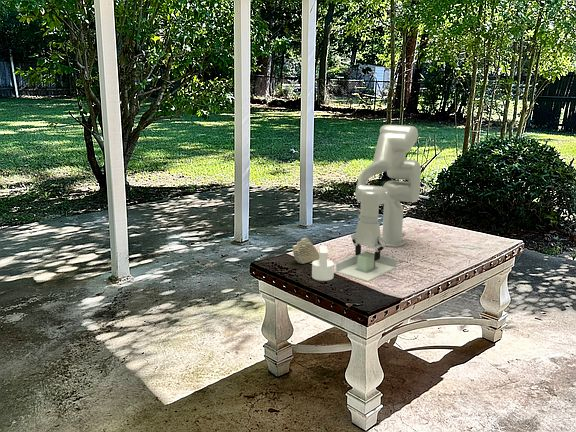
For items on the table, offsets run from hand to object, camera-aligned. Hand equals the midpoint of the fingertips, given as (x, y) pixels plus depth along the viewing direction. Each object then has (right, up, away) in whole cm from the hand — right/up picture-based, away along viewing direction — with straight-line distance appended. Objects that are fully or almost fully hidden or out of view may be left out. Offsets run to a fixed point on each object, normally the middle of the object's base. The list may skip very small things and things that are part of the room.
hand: (367, 257), depth 232 cm
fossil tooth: (-26, -3, +11) cm, 28 cm away
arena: (0, -6, +1) cm, 6 cm away
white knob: (-20, -8, -7) cm, 22 cm away
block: (0, -5, +1) cm, 5 cm away
